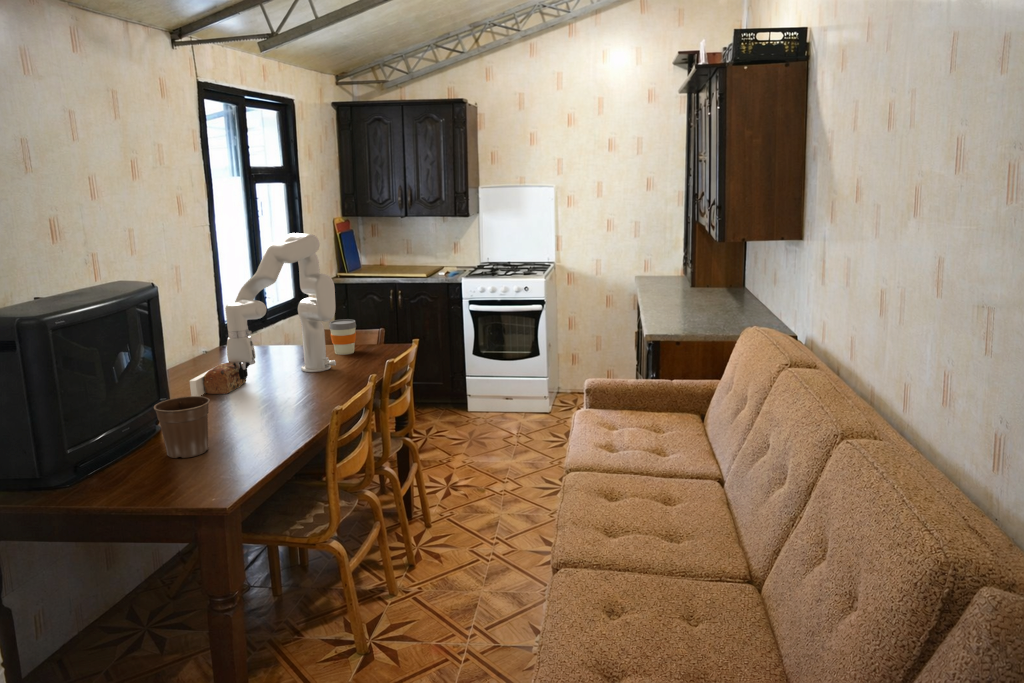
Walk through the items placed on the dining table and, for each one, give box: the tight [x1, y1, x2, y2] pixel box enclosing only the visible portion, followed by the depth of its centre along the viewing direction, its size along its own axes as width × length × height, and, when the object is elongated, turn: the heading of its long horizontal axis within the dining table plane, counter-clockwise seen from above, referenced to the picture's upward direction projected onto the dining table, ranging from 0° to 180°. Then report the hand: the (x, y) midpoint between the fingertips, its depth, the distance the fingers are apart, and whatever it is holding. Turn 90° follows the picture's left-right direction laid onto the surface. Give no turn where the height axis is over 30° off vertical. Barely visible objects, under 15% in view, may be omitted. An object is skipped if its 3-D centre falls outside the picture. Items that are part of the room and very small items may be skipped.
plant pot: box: [153, 395, 211, 459], centre depth 253 cm, size 16×16×16 cm
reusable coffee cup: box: [329, 318, 357, 356], centre depth 386 cm, size 13×13×15 cm
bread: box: [203, 362, 247, 395], centre depth 328 cm, size 19×11×10 cm, turn 174°
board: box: [189, 362, 224, 397], centre depth 329 cm, size 2×28×7 cm, turn 174°
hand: (243, 378), depth 328 cm, fingers closed
